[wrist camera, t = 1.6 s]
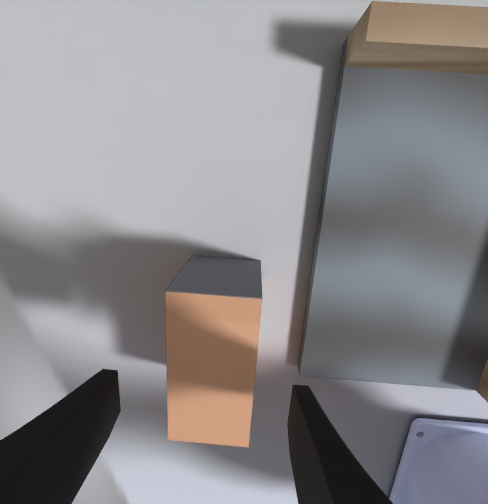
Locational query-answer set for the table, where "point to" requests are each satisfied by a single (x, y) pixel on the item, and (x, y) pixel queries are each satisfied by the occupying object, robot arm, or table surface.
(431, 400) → the table surface
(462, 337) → the corner arena
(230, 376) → the terracotta bar
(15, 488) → the robot arm
